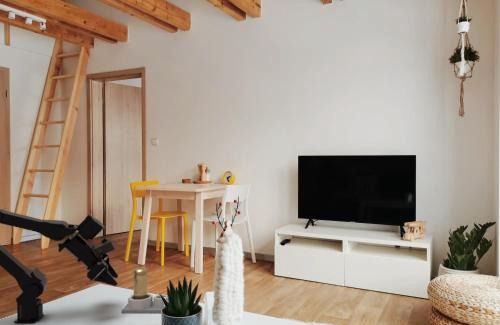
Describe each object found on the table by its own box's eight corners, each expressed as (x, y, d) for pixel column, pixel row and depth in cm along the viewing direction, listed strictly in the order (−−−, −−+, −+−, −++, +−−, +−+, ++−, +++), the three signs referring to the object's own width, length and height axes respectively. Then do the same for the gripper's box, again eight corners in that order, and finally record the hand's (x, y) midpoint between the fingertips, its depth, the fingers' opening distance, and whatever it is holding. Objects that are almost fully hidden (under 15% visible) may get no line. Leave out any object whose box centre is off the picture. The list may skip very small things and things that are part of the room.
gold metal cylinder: (130, 306, 143) (130, 270, 143) (138, 302, 147) (138, 266, 147) (142, 308, 141) (142, 271, 141) (150, 304, 146) (150, 268, 146)
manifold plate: (121, 313, 140) (121, 301, 140) (130, 303, 149) (129, 292, 149) (169, 313, 140) (169, 301, 140) (175, 304, 149) (175, 292, 149)
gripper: (98, 237, 132) (134, 269, 135) (102, 227, 150) (134, 256, 153) (71, 264, 130) (108, 296, 133) (78, 251, 148) (111, 280, 151)
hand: (117, 280), depth 142 cm, fingers open, 9 cm apart
